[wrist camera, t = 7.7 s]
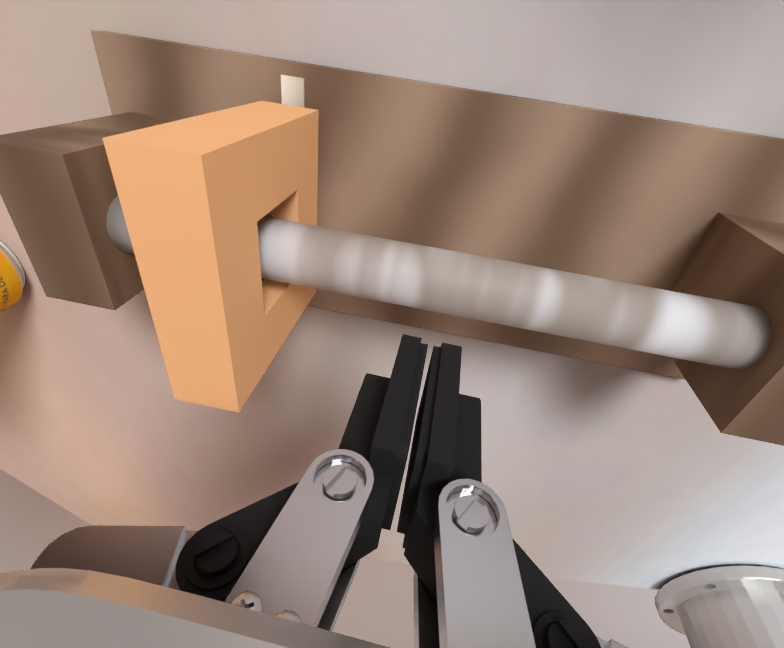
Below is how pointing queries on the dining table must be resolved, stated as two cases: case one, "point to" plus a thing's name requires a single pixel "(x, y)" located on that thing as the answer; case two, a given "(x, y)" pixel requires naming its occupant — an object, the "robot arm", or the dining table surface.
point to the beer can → (10, 278)
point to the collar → (217, 238)
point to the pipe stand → (460, 217)
